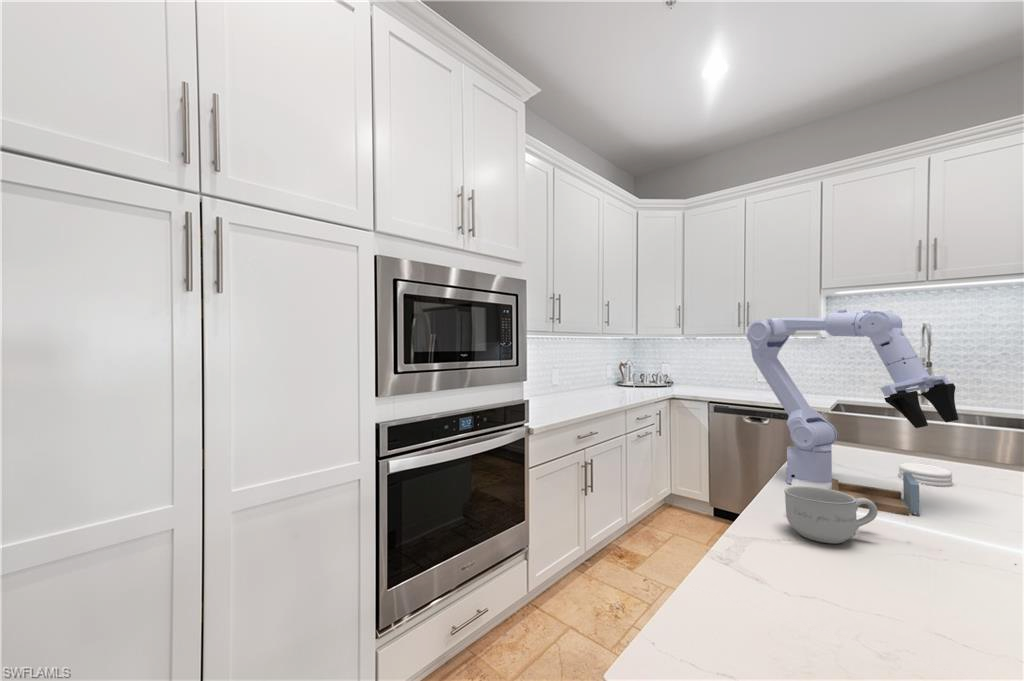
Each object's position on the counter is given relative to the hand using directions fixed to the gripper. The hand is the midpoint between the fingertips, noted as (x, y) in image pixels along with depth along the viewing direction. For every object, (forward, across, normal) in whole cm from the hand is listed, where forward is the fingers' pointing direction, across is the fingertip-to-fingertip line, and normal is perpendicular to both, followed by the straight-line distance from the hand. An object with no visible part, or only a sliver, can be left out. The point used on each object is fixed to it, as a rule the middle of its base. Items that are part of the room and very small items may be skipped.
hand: (937, 424), depth 86 cm
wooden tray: (+13, -11, +14) cm, 22 cm away
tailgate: (+15, -6, +8) cm, 18 cm away
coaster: (+12, +22, +28) cm, 37 cm away
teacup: (+16, -32, +2) cm, 36 cm away
